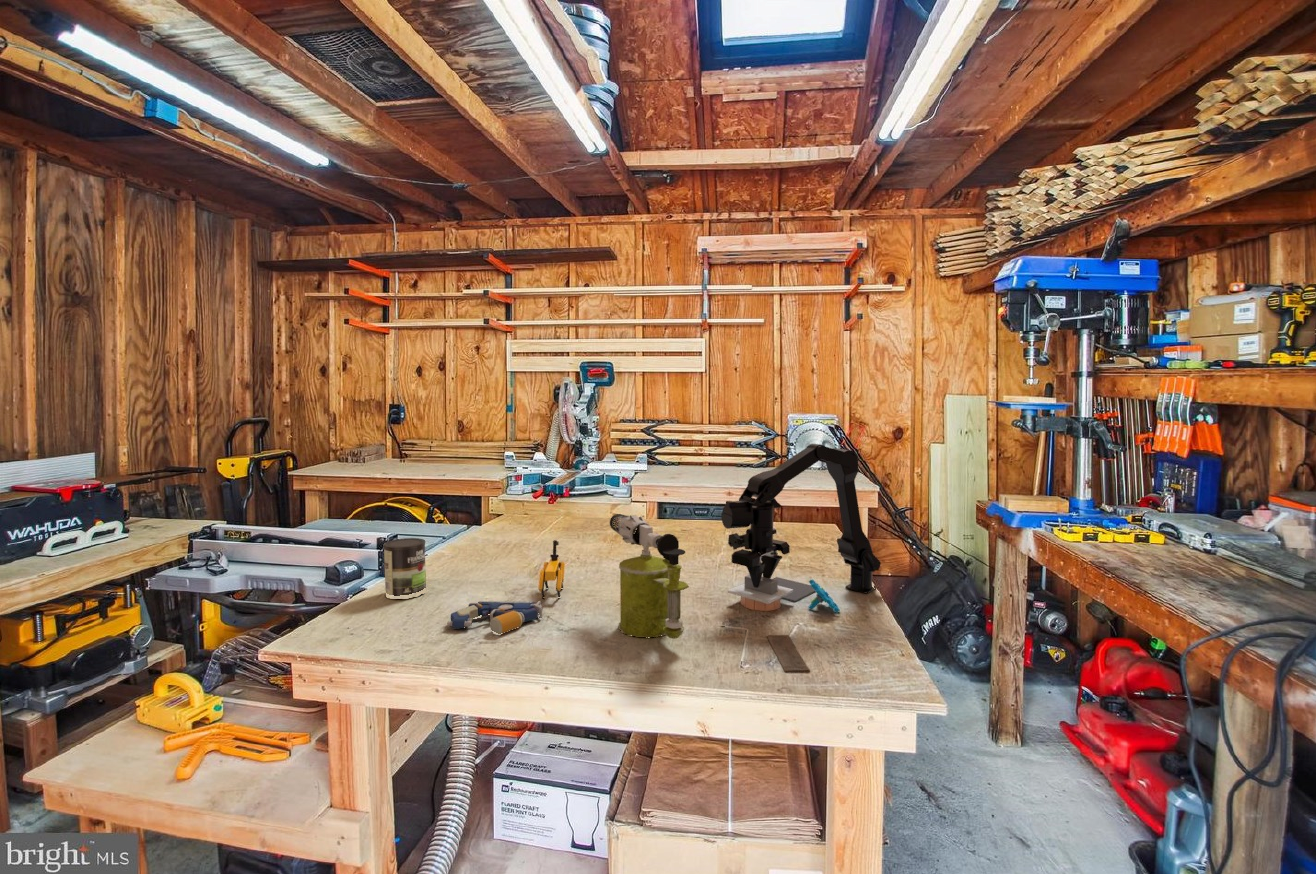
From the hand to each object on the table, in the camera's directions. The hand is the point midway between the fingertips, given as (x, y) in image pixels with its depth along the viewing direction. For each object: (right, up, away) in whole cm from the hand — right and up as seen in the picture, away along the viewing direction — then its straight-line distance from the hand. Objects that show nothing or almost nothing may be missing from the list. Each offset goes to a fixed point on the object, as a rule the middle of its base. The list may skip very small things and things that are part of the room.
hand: (760, 585), depth 149 cm
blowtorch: (-29, -6, -15) cm, 33 cm away
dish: (0, -5, 0) cm, 5 cm away
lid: (0, -2, 0) cm, 2 cm away
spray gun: (-64, -6, -13) cm, 66 cm away
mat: (+9, -4, +11) cm, 15 cm away
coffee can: (-94, -4, +7) cm, 95 cm away
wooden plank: (0, -8, -29) cm, 30 cm away
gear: (+15, -5, -4) cm, 16 cm away
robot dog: (-55, -4, +9) cm, 56 cm away
